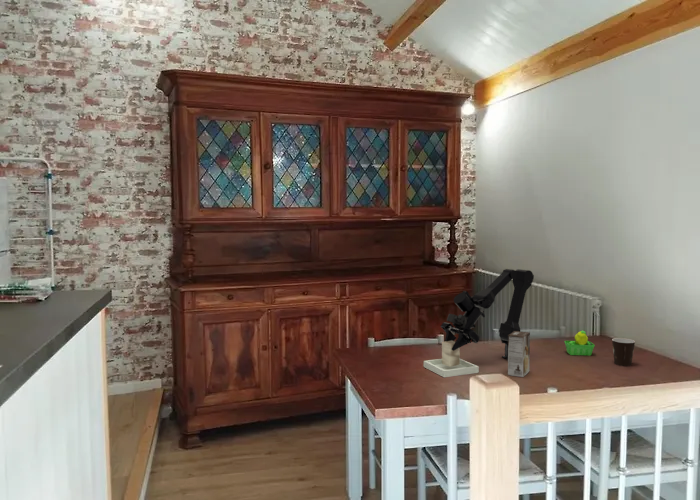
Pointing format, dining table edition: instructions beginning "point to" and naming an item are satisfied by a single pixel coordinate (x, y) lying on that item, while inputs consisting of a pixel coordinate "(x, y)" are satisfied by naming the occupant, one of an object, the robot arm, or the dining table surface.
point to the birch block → (450, 354)
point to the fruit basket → (580, 345)
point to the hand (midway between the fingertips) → (448, 348)
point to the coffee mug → (623, 351)
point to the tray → (451, 368)
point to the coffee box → (518, 353)
